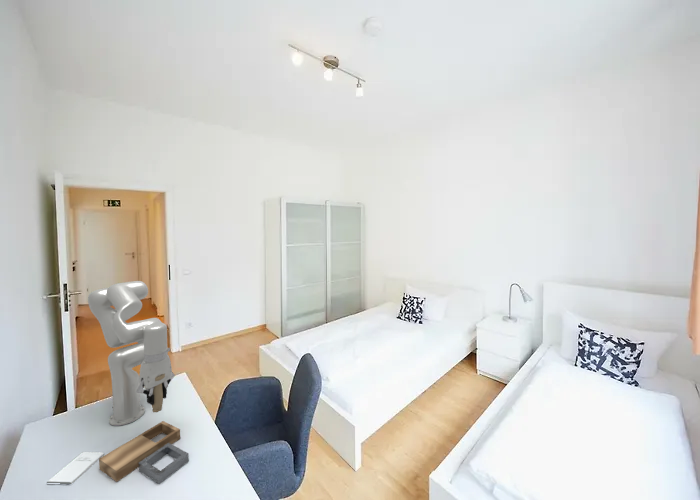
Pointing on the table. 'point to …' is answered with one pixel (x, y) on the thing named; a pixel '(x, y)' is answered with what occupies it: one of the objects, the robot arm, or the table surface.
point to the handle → (158, 395)
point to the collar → (160, 476)
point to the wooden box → (136, 451)
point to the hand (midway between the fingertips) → (157, 400)
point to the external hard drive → (76, 468)
